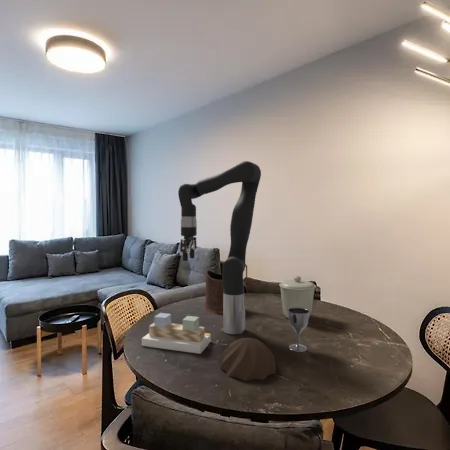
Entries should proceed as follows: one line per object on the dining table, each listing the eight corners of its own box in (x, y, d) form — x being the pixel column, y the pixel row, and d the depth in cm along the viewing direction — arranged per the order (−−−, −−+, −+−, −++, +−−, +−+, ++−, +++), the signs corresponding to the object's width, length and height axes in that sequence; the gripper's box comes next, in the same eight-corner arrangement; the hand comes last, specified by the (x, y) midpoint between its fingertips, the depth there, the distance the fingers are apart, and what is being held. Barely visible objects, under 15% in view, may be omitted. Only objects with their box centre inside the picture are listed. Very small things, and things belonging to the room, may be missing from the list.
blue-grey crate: (171, 323, 136) (171, 314, 136) (165, 327, 131) (165, 317, 131) (160, 322, 137) (160, 312, 137) (154, 326, 132) (154, 316, 132)
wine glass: (296, 353, 124) (297, 314, 123) (283, 346, 131) (284, 309, 130) (312, 349, 127) (313, 311, 127) (299, 342, 134) (299, 306, 134)
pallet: (204, 336, 132) (204, 327, 132) (199, 342, 127) (199, 332, 127) (155, 330, 138) (155, 321, 138) (149, 335, 133) (149, 326, 133)
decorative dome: (235, 387, 101) (235, 355, 101) (211, 359, 119) (211, 332, 119) (287, 374, 109) (288, 344, 108) (258, 350, 127) (258, 325, 127)
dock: (210, 341, 135) (210, 333, 135) (200, 353, 123) (200, 345, 123) (156, 334, 142) (156, 327, 142) (141, 345, 130) (141, 337, 130)
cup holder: (206, 302, 191) (206, 259, 190) (248, 304, 188) (248, 260, 186) (200, 312, 173) (200, 265, 171) (245, 314, 169) (245, 266, 168)
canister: (323, 318, 163) (323, 277, 162) (297, 326, 153) (298, 281, 152) (296, 309, 178) (296, 271, 177) (271, 315, 168) (271, 274, 167)
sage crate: (199, 326, 132) (199, 316, 132) (194, 331, 127) (194, 321, 127) (187, 325, 134) (187, 315, 133) (182, 329, 129) (182, 319, 129)
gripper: (190, 226, 149) (190, 262, 150) (201, 225, 163) (201, 257, 163) (175, 226, 151) (175, 261, 152) (187, 225, 165) (187, 257, 165)
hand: (188, 259), depth 158 cm, fingers open, 8 cm apart
